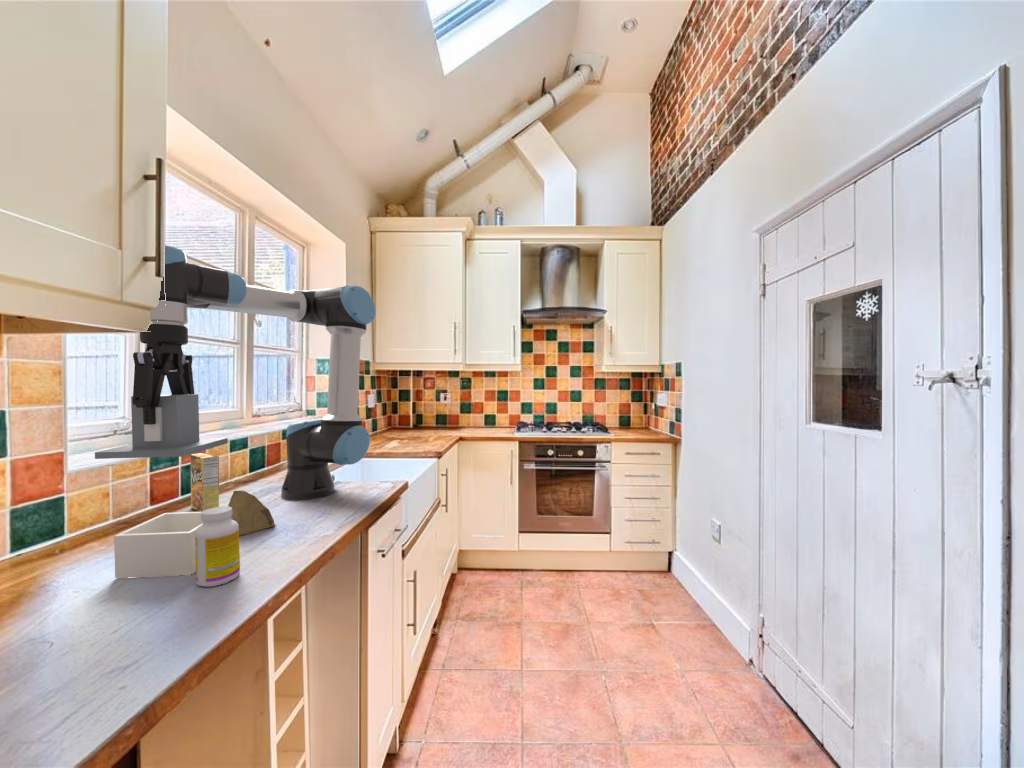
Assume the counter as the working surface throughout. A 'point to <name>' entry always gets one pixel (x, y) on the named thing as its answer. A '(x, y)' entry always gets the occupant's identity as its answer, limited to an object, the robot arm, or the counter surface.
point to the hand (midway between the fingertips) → (167, 437)
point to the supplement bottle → (217, 547)
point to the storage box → (158, 547)
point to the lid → (167, 431)
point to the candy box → (204, 481)
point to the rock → (249, 513)
